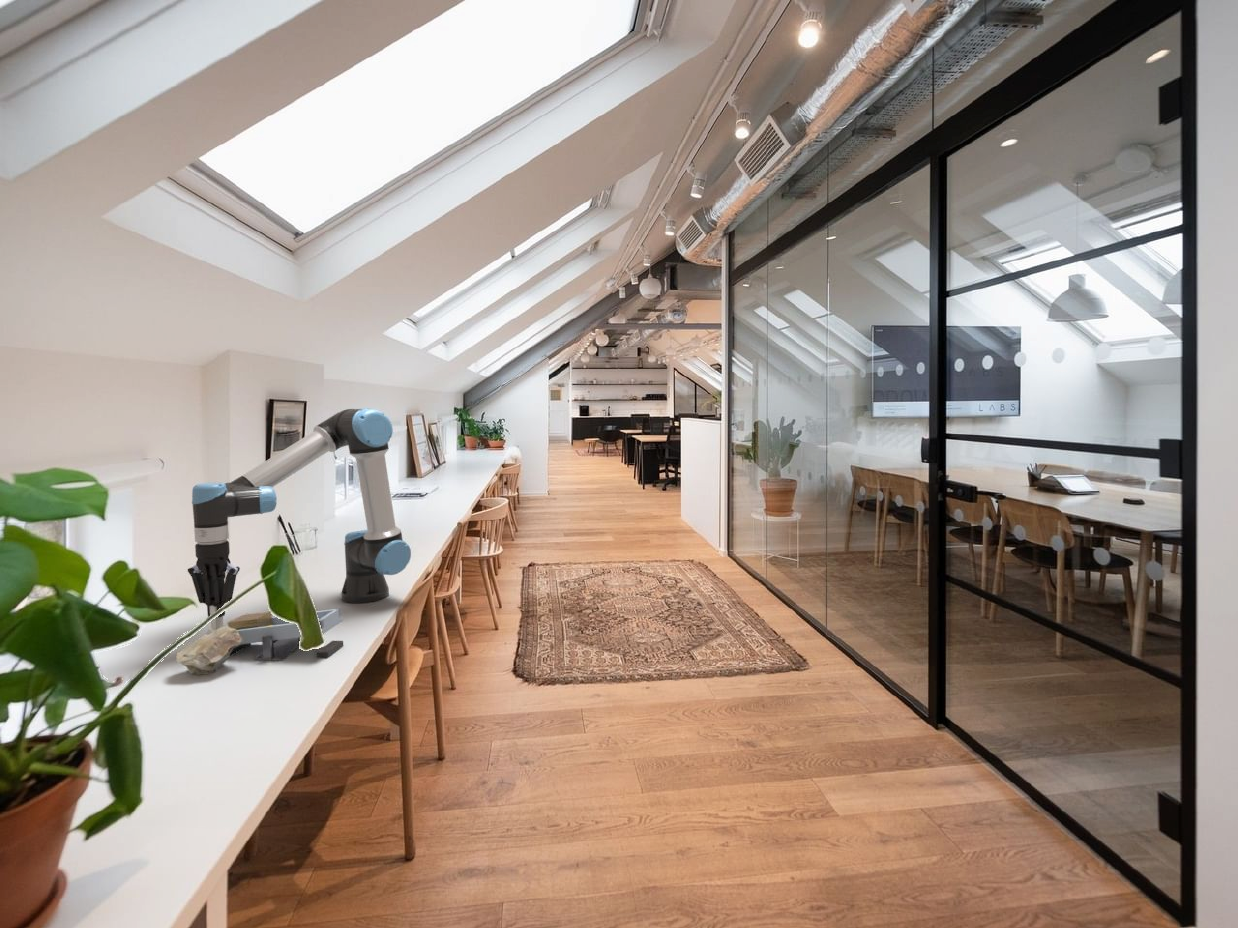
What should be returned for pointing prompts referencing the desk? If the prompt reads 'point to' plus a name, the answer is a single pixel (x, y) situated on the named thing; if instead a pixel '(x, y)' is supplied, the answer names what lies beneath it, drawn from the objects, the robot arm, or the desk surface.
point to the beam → (289, 627)
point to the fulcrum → (286, 648)
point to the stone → (209, 650)
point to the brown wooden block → (251, 621)
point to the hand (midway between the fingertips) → (217, 628)
